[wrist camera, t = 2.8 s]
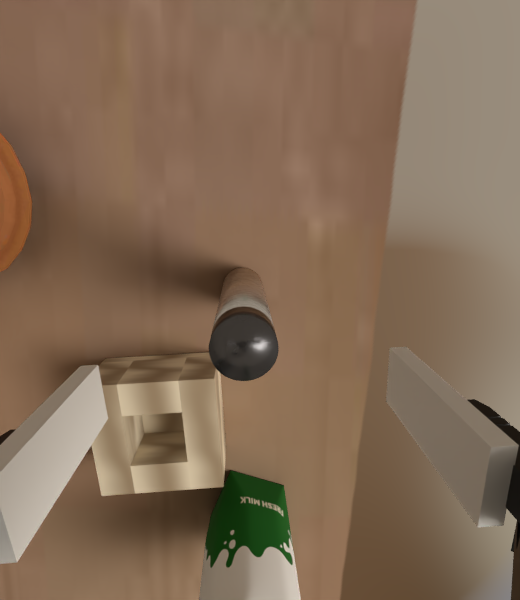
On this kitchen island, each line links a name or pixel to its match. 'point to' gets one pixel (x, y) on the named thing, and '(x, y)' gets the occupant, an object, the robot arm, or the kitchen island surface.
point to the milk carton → (249, 544)
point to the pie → (12, 205)
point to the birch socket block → (160, 425)
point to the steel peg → (243, 329)
